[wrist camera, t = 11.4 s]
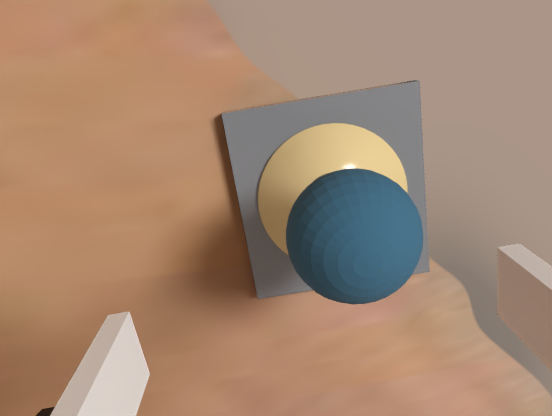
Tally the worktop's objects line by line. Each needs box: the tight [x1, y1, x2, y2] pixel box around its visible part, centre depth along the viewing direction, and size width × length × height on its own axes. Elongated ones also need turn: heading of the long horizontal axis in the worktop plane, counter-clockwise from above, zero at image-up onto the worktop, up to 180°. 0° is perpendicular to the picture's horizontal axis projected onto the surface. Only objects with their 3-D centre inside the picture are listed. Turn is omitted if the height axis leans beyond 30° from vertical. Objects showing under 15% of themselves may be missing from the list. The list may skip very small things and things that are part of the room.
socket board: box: [222, 80, 430, 299], centre depth 35 cm, size 16×15×2 cm
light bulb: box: [286, 168, 424, 304], centre depth 29 cm, size 8×8×12 cm
